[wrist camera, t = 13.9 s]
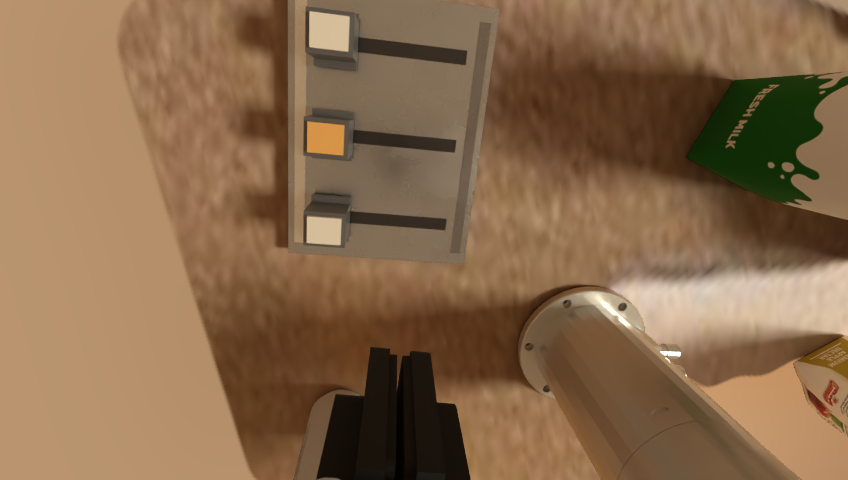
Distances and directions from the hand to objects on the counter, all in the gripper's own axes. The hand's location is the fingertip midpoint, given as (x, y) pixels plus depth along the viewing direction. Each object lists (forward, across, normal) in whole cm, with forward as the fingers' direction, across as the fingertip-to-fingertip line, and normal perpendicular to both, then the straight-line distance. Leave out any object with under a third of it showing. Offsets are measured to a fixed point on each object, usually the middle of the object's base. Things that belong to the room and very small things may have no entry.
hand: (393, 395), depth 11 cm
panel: (+24, +2, -5) cm, 25 cm away
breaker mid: (+23, +6, -5) cm, 24 cm away
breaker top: (+23, +5, +1) cm, 24 cm away
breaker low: (+23, +6, -12) cm, 26 cm away
